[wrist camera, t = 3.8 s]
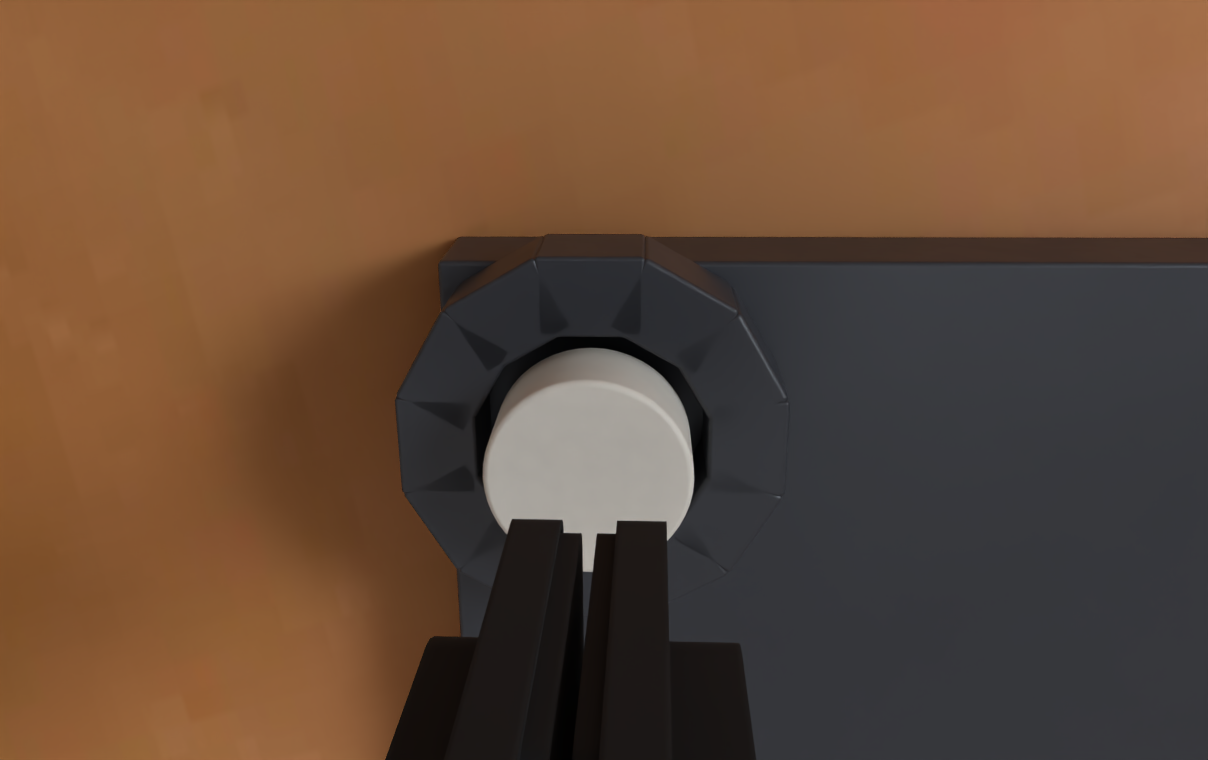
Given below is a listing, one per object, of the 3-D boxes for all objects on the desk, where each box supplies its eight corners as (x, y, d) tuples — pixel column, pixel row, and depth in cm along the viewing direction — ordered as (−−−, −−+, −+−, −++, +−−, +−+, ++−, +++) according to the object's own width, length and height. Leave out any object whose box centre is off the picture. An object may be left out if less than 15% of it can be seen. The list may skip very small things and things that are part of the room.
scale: (471, 862, 23) (442, 1004, 20) (430, 209, 18) (382, 256, 15) (1138, 877, 23) (1221, 1027, 19) (1281, 210, 18) (1425, 259, 14)
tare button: (500, 523, 17) (486, 573, 15) (492, 345, 16) (476, 380, 14) (688, 525, 17) (692, 575, 15) (692, 346, 16) (697, 381, 14)
